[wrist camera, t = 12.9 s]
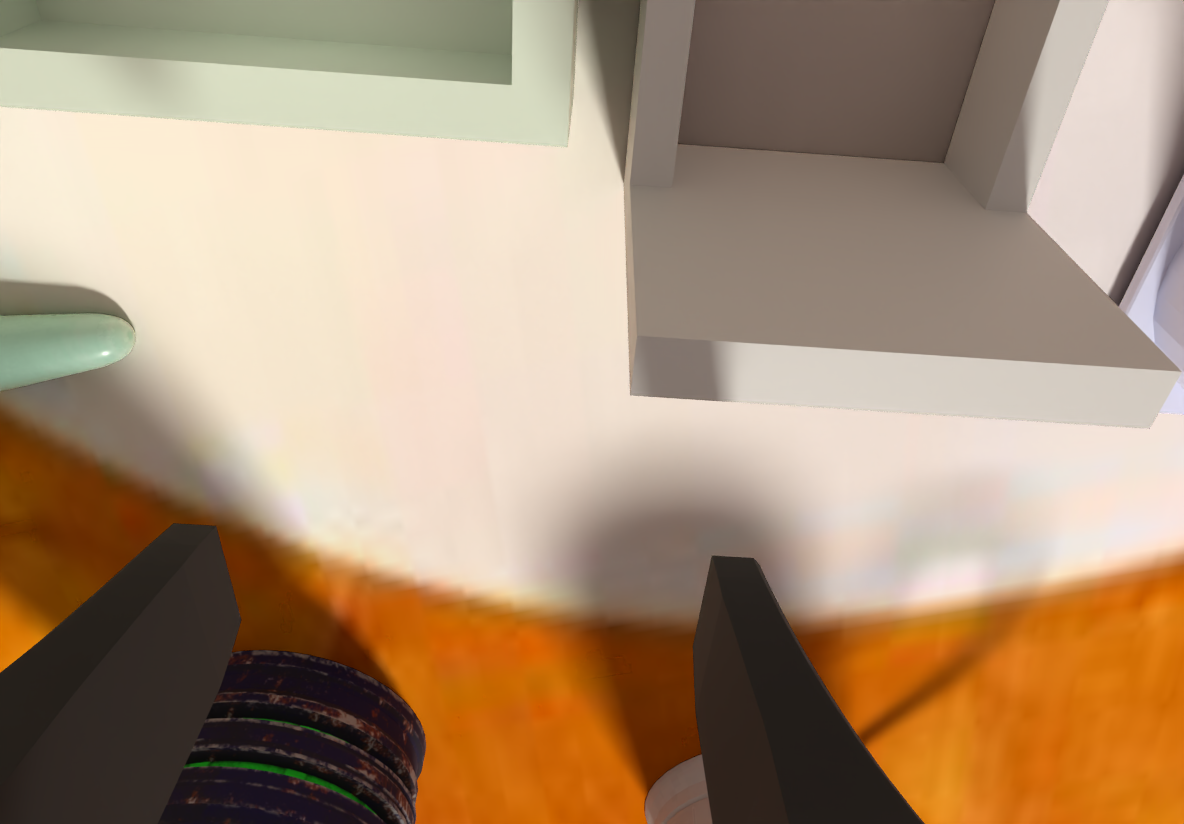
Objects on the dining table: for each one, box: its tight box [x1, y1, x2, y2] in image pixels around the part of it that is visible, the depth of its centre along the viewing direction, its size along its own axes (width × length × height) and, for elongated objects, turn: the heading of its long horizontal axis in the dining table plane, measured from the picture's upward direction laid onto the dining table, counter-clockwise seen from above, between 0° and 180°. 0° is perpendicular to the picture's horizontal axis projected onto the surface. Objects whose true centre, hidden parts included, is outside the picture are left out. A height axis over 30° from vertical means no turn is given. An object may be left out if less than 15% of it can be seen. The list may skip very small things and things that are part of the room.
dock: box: [624, 0, 1182, 429], centre depth 14 cm, size 8×5×8 cm
